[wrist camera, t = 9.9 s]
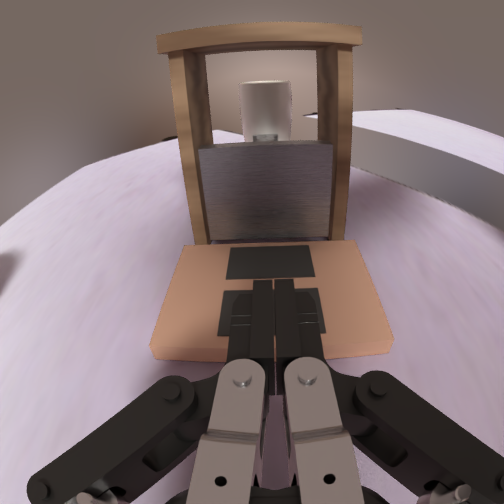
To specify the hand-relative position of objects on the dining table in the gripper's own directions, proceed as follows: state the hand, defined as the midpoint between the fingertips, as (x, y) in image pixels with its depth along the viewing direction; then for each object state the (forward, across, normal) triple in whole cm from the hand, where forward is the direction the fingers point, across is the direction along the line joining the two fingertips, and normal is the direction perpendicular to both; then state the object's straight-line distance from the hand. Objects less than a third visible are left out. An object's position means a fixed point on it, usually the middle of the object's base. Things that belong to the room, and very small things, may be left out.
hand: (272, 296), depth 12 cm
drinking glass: (+32, 0, +9) cm, 33 cm away
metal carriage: (+26, 0, +8) cm, 27 cm away
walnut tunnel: (+21, 0, +9) cm, 23 cm away
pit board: (+9, 0, +9) cm, 13 cm away
